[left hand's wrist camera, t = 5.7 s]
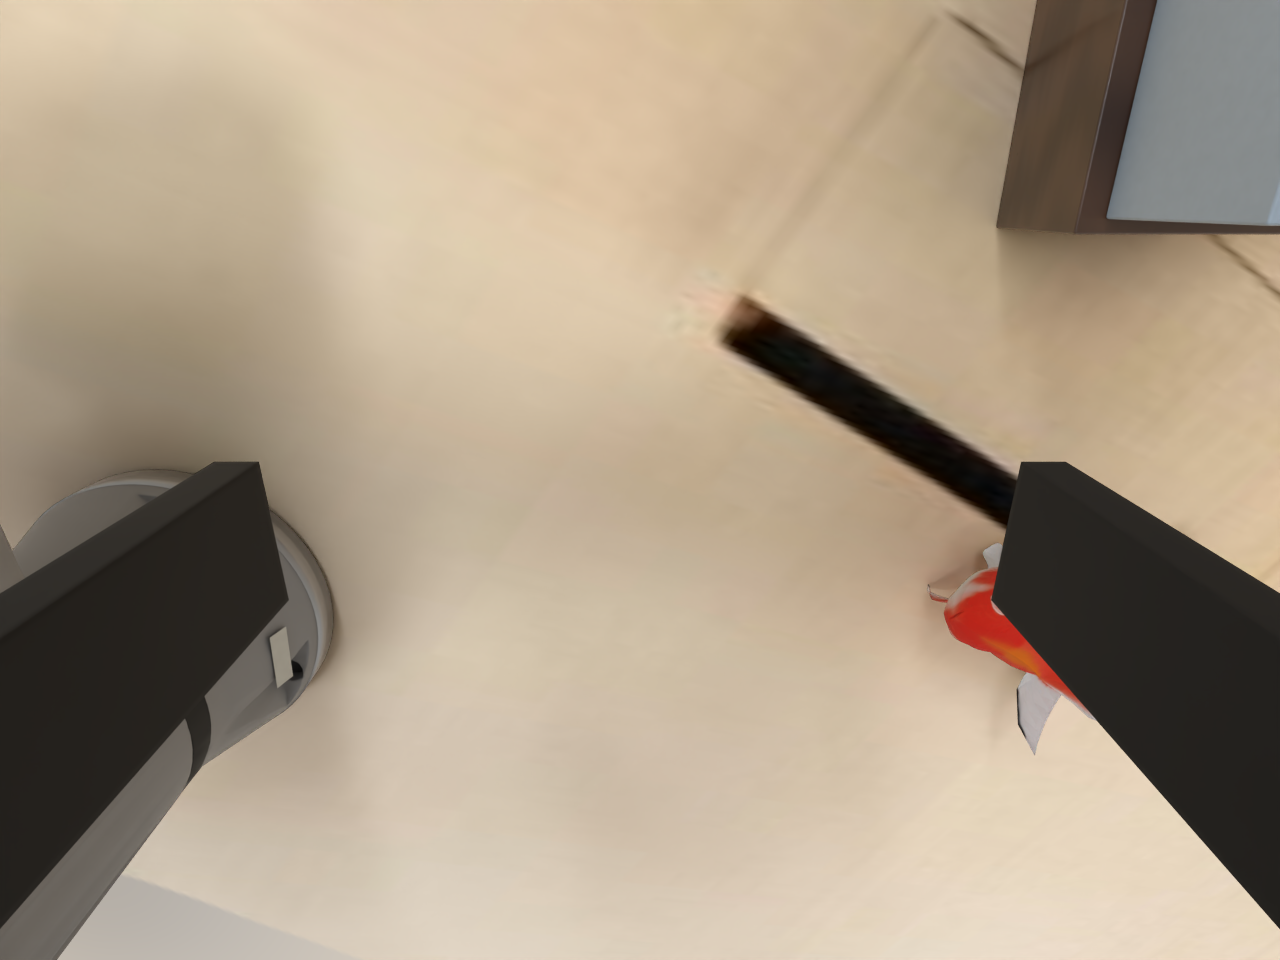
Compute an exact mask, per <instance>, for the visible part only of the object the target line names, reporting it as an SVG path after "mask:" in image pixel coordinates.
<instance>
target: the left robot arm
mask: <svg viewBox="0 0 1280 960" xmlns="http://www.w3.org/2000/svg"><path fill="white" fill-rule="evenodd" d="M991 601H992V602H993V603H994V604H995V605H996V606H997V607H998V609H999V610H1000V611H1001V612H1002V613H1003V614H1004V615H1005V617H1006V618H1007V619H1008V620H1009V621H1010V622H1011V623H1012V625H1013V626H1014V627H1015V628H1016V629H1017V630H1018V631H1019V633H1020V634H1021V635H1022V636H1023V637H1024V638H1025V639H1026V640H1027V642H1028V643H1029V644H1030V645H1031V646H1032V647H1033V648H1034V650H1035V651H1036V652H1037V653H1038V654H1039V655H1040V656H1041V658H1042V659H1043V660H1044V661H1045V662H1046V663H1047V664H1048V666H1049V667H1050V668H1051V669H1052V670H1053V671H1054V672H1055V674H1056V675H1057V676H1058V677H1059V678H1060V679H1061V680H1062V681H1063V683H1064V684H1065V685H1066V686H1067V687H1068V688H1069V689H1070V691H1071V692H1072V693H1073V694H1074V695H1075V696H1076V697H1077V699H1078V700H1079V701H1080V702H1081V703H1082V704H1083V705H1084V707H1085V708H1086V709H1087V710H1088V711H1089V712H1090V713H1091V715H1092V716H1093V717H1094V718H1095V719H1096V720H1097V721H1098V723H1099V724H1100V725H1101V726H1102V727H1103V728H1104V729H1105V730H1106V732H1107V733H1108V734H1109V735H1110V736H1111V737H1112V738H1113V740H1114V741H1115V742H1116V743H1117V744H1118V745H1119V746H1120V748H1121V749H1122V750H1123V751H1124V752H1125V753H1126V754H1127V756H1128V757H1129V758H1130V759H1131V760H1132V761H1133V762H1134V764H1135V765H1136V766H1137V767H1138V768H1139V769H1140V770H1141V771H1142V773H1143V774H1144V775H1145V776H1146V777H1147V778H1148V779H1149V781H1150V782H1151V783H1152V784H1153V785H1154V786H1155V787H1156V789H1157V790H1158V791H1159V792H1160V793H1161V794H1162V795H1163V797H1164V798H1165V799H1166V800H1167V801H1168V802H1169V803H1170V805H1171V806H1172V807H1173V808H1174V809H1175V810H1176V811H1177V812H1178V814H1179V815H1180V816H1181V817H1182V818H1183V819H1184V820H1185V822H1186V823H1187V824H1188V825H1189V826H1190V827H1191V828H1192V830H1193V831H1194V832H1195V833H1196V834H1197V835H1198V836H1199V838H1200V839H1201V840H1202V841H1203V842H1204V843H1205V844H1206V846H1207V847H1208V848H1209V849H1210V850H1211V851H1212V852H1213V853H1214V855H1215V856H1216V857H1217V858H1218V859H1219V860H1220V861H1221V863H1222V864H1223V865H1224V866H1225V867H1226V868H1227V869H1228V871H1229V872H1230V873H1231V874H1232V875H1233V876H1234V877H1235V879H1236V880H1237V881H1238V882H1239V883H1240V884H1241V885H1242V887H1243V888H1244V889H1245V890H1246V891H1247V892H1248V893H1249V894H1250V896H1251V897H1252V898H1253V899H1254V900H1255V901H1256V902H1257V904H1258V905H1259V906H1260V907H1261V908H1262V909H1263V910H1264V912H1265V913H1266V914H1267V915H1268V916H1269V917H1270V918H1271V920H1272V921H1273V922H1274V923H1275V924H1276V925H1277V926H1278V928H1279V929H1280V593H1278V592H1277V591H1275V590H1274V589H1272V588H1270V587H1269V586H1267V585H1265V584H1264V583H1262V582H1260V581H1259V580H1257V579H1256V578H1254V577H1252V576H1251V575H1249V574H1247V573H1246V572H1244V571H1243V570H1241V569H1239V568H1238V567H1236V566H1234V565H1233V564H1231V563H1230V562H1228V561H1226V560H1225V559H1223V558H1221V557H1220V556H1218V555H1217V554H1215V553H1213V552H1212V551H1210V550H1208V549H1207V548H1205V547H1204V546H1202V545H1200V544H1199V543H1197V542H1195V541H1194V540H1192V539H1191V538H1189V537H1187V536H1186V535H1184V534H1182V533H1181V532H1179V531H1177V530H1176V529H1174V528H1173V527H1171V526H1169V525H1168V524H1166V523H1164V522H1163V521H1161V520H1160V519H1158V518H1156V517H1155V516H1153V515H1151V514H1150V513H1148V512H1147V511H1145V510H1143V509H1142V508H1140V507H1138V506H1137V505H1135V504H1134V503H1132V502H1130V501H1129V500H1127V499H1125V498H1124V497H1122V496H1121V495H1119V494H1117V493H1116V492H1114V491H1112V490H1111V489H1109V488H1107V487H1106V486H1104V485H1103V484H1101V483H1099V482H1098V481H1096V480H1094V479H1093V478H1091V477H1090V476H1088V475H1086V474H1085V473H1083V472H1081V471H1080V470H1078V469H1077V468H1075V467H1073V466H1072V465H1070V464H1068V463H1067V462H1021V465H1020V470H1019V474H1018V479H1017V484H1016V488H1015V493H1014V497H1013V502H1012V506H1011V511H1010V516H1009V520H1008V525H1007V529H1006V534H1005V538H1004V543H1003V548H1002V552H1001V557H1000V561H999V566H998V570H997V575H996V580H995V584H994V589H993V593H992V598H991ZM332 631H333V609H332V602H331V597H330V593H329V590H328V587H327V584H326V581H325V578H324V576H323V574H322V572H321V569H320V567H319V566H318V564H317V562H316V560H315V559H314V557H313V555H312V554H311V552H310V551H309V549H308V548H307V547H306V545H305V544H304V543H303V541H302V540H301V539H300V538H299V537H298V535H297V534H296V533H295V532H294V531H293V530H292V529H291V528H290V527H289V526H288V525H287V524H286V523H285V522H284V521H283V520H281V519H280V518H279V517H278V516H277V515H276V514H274V513H273V512H272V511H271V510H269V506H268V502H267V497H266V493H265V488H264V484H263V479H262V474H261V470H260V465H259V462H213V463H212V464H210V465H208V466H207V467H205V468H203V469H202V470H200V471H199V472H197V473H195V474H190V473H184V472H178V471H169V470H140V471H131V472H126V473H121V474H117V475H113V476H110V477H107V478H104V479H102V480H99V481H97V482H95V483H93V484H91V485H89V486H87V487H85V488H83V489H81V490H79V491H77V492H75V493H74V494H72V495H70V496H68V497H66V498H64V499H62V500H61V501H59V502H58V503H56V504H54V505H53V506H52V507H50V508H49V509H48V510H47V511H46V512H44V513H43V514H42V515H41V516H40V517H39V519H38V520H37V521H36V522H35V523H34V524H33V526H32V527H31V528H30V529H29V531H28V532H27V533H26V534H25V536H24V537H23V538H22V539H21V541H20V542H19V543H18V544H17V546H16V547H15V548H14V549H13V551H12V549H11V547H10V545H9V543H8V541H7V538H6V536H5V534H4V532H3V530H2V527H1V525H0V960H57V959H58V957H59V956H60V955H61V953H62V952H63V951H64V949H65V948H66V947H67V945H68V944H69V943H70V941H71V940H72V939H73V937H74V936H75V935H76V933H77V932H78V931H79V929H80V928H81V927H82V925H83V924H84V923H85V921H86V920H87V919H88V917H89V916H90V915H91V913H92V912H93V911H94V909H95V908H96V907H97V905H98V904H99V903H100V901H101V900H102V899H103V897H104V896H105V895H106V893H107V892H108V891H109V889H110V888H111V887H112V885H113V884H114V883H115V881H116V880H117V878H118V877H119V876H120V875H121V873H122V872H123V871H124V869H125V868H126V866H127V865H128V864H129V862H130V861H131V860H132V858H133V857H134V856H135V854H136V853H137V852H138V850H139V849H140V848H141V846H142V845H143V844H144V842H145V841H146V840H147V838H148V837H149V836H150V834H151V833H152V832H153V830H154V829H155V828H156V826H157V825H158V824H159V822H160V821H161V820H162V818H163V817H164V816H165V814H166V813H167V812H168V810H169V809H170V808H171V806H172V805H173V804H174V802H175V801H176V800H177V798H178V797H179V796H180V794H181V792H182V791H183V790H184V789H185V787H186V786H187V785H188V783H189V782H190V781H191V780H192V778H193V777H194V776H195V774H196V773H197V772H198V771H199V770H200V768H201V767H202V766H203V765H205V764H206V763H208V762H209V761H211V760H212V759H214V758H215V757H217V756H218V755H220V754H221V753H223V752H224V751H225V750H227V749H228V748H230V747H231V746H233V745H234V744H236V743H237V742H239V741H240V740H242V739H243V738H245V737H246V736H248V735H249V734H251V733H252V732H254V731H255V730H257V729H258V728H260V727H261V726H263V725H264V724H266V723H267V722H269V721H270V720H272V719H273V718H275V717H276V716H278V715H279V714H281V713H282V712H284V711H285V710H286V709H287V708H289V707H290V706H291V705H292V704H293V703H294V702H295V701H296V700H297V699H298V698H299V697H300V695H301V694H302V693H303V691H304V690H305V689H306V687H307V686H308V684H309V683H310V681H311V680H312V678H313V677H314V675H315V674H316V673H317V671H318V670H319V668H320V666H321V665H322V663H323V661H324V659H325V657H326V655H327V652H328V650H329V646H330V642H331V639H332Z"/></svg>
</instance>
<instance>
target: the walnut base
mask: <svg viewBox="0 0 1280 960" xmlns="http://www.w3.org/2000/svg"><path fill="white" fill-rule="evenodd" d="M1156 3H1157V0H1037V6H1036V11H1035V17H1034V23H1033V28H1032V34H1031V39H1030V45H1029V50H1028V56H1027V61H1026V67H1025V72H1024V78H1023V83H1022V89H1021V94H1020V100H1019V106H1018V111H1017V117H1016V122H1015V128H1014V133H1013V139H1012V144H1011V150H1010V155H1009V161H1008V166H1007V172H1006V177H1005V183H1004V189H1003V194H1002V200H1001V205H1000V211H999V216H998V222H997V228H1002V229H1014V230H1027V231H1039V232H1051V233H1064V234H1280V226H1260V225H1237V224H1213V223H1189V222H1165V221H1141V220H1118V219H1108V218H1107V217H1106V216H1107V211H1108V207H1109V203H1110V199H1111V194H1112V190H1113V186H1114V182H1115V177H1116V173H1117V169H1118V165H1119V160H1120V156H1121V152H1122V148H1123V143H1124V139H1125V135H1126V131H1127V126H1128V122H1129V118H1130V114H1131V109H1132V105H1133V101H1134V97H1135V92H1136V88H1137V84H1138V80H1139V75H1140V71H1141V67H1142V63H1143V58H1144V54H1145V50H1146V46H1147V41H1148V37H1149V33H1150V29H1151V24H1152V20H1153V16H1154V12H1155V7H1156Z"/></svg>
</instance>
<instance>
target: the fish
mask: <svg viewBox="0 0 1280 960" xmlns="http://www.w3.org/2000/svg"><path fill="white" fill-rule="evenodd" d="M1002 548H1003V546H1002V545H1001V544H1000V543H995V544H993V545H992V546H990V547H988V548H987V549H985V550H984V551H983V556H984V558H985V560H986V562H987V565H988V569H984V570H980V571H978V572H976V573H974V574H973V575H971V576H970V577H969V578H968V579H967V580H966V581H965V582H964V583H963V584H962V585H961V586H960V587H959V588H958V589H957V590H956V591H955V592H954V593H953V594H952V595H951V596H950V598H949V599H948V598H944V597H941V596H938V595H936V594H934V593H931V592H930V587H929V585H928V589H927V591H928V593H929V594H930V596H931V599H932V600H935V601H939V602H947V604H946V607H945V610H944V616H945V620H946V622H947V625H948V628H949V631H950V633H951V634H952V636H953V637H954V638H956V639H957V640H959V641H961V642H963V643H966V644H968V645H970V646H972V647H973V648H976V649H979V650H982V651H987V652H991V653H992V654H994V655H995V656H996V657H998V658H999V659H1001V660H1003V661H1004V662H1006V663H1007V664H1009V665H1010V666H1013V667H1015V668H1018V669H1020V670H1022V671H1025V672H1026V674H1025V675H1024V677H1023V678H1022V680H1021V682H1020V684H1019V686H1018V688H1017V711H1018V725H1019V727H1020V729H1021V731H1022V733H1023V735H1024V736H1025V738H1026V740H1027V742H1028V744H1029V746H1030V748H1031V750H1032V751H1033V753H1034V755H1035V752H1036V747H1037V743H1038V740H1039V737H1040V735H1041V732H1042V730H1043V727H1044V725H1045V722H1046V720H1047V718H1048V716H1049V714H1050V712H1051V711H1052V709H1053V707H1054V705H1055V704H1056V702H1057V701H1058V699H1059V698H1060V696H1061V695H1063V696H1064V697H1065V698H1066V699H1068V700H1069V701H1070V702H1072V703H1073V704H1074V705H1075V706H1077V707H1078V708H1079V709H1080V710H1081V711H1082V712H1083V713H1084V714H1085V715H1086V716H1087V717H1089V718H1091V719H1094V720H1096V719H1095V718H1094V717H1093V716H1092V715H1091V713H1090V712H1089V711H1088V710H1087V709H1086V708H1085V707H1084V705H1083V704H1082V703H1081V702H1080V701H1079V700H1078V699H1077V697H1076V696H1075V695H1074V694H1073V693H1072V692H1071V691H1070V689H1069V688H1068V687H1067V686H1066V685H1065V684H1064V683H1063V681H1062V680H1061V679H1060V678H1059V677H1058V676H1057V675H1056V674H1055V672H1054V671H1053V670H1052V669H1051V668H1050V667H1049V666H1048V664H1047V663H1046V662H1045V661H1044V660H1043V659H1042V658H1041V656H1040V655H1039V654H1038V653H1037V652H1036V651H1035V650H1034V648H1033V647H1032V646H1031V645H1030V644H1029V643H1028V642H1027V640H1026V639H1025V638H1024V637H1023V636H1022V635H1021V634H1020V633H1019V631H1018V630H1017V629H1016V628H1015V627H1014V626H1013V625H1012V623H1011V622H1010V621H1009V620H1008V619H1007V618H1006V617H1005V615H1004V614H1003V613H1002V612H1001V611H1000V610H999V609H998V607H997V606H996V605H995V604H994V603H993V602H992V601H991V598H992V593H993V589H994V584H995V580H996V575H997V570H998V566H999V561H1000V557H1001V552H1002ZM1096 721H1097V720H1096Z"/></svg>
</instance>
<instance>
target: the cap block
mask: <svg viewBox="0 0 1280 960" xmlns="http://www.w3.org/2000/svg"><path fill="white" fill-rule="evenodd" d="M1106 217H1107V218H1108V219H1118V220H1141V221H1165V222H1189V223H1213V224H1237V225H1260V226H1280V0H1157V3H1156V7H1155V12H1154V16H1153V20H1152V24H1151V29H1150V33H1149V37H1148V41H1147V46H1146V50H1145V54H1144V58H1143V63H1142V67H1141V71H1140V75H1139V80H1138V84H1137V88H1136V92H1135V97H1134V101H1133V105H1132V109H1131V114H1130V118H1129V122H1128V126H1127V131H1126V135H1125V139H1124V143H1123V148H1122V152H1121V156H1120V160H1119V165H1118V169H1117V173H1116V177H1115V182H1114V186H1113V190H1112V194H1111V199H1110V203H1109V207H1108V211H1107V216H1106Z"/></svg>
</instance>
